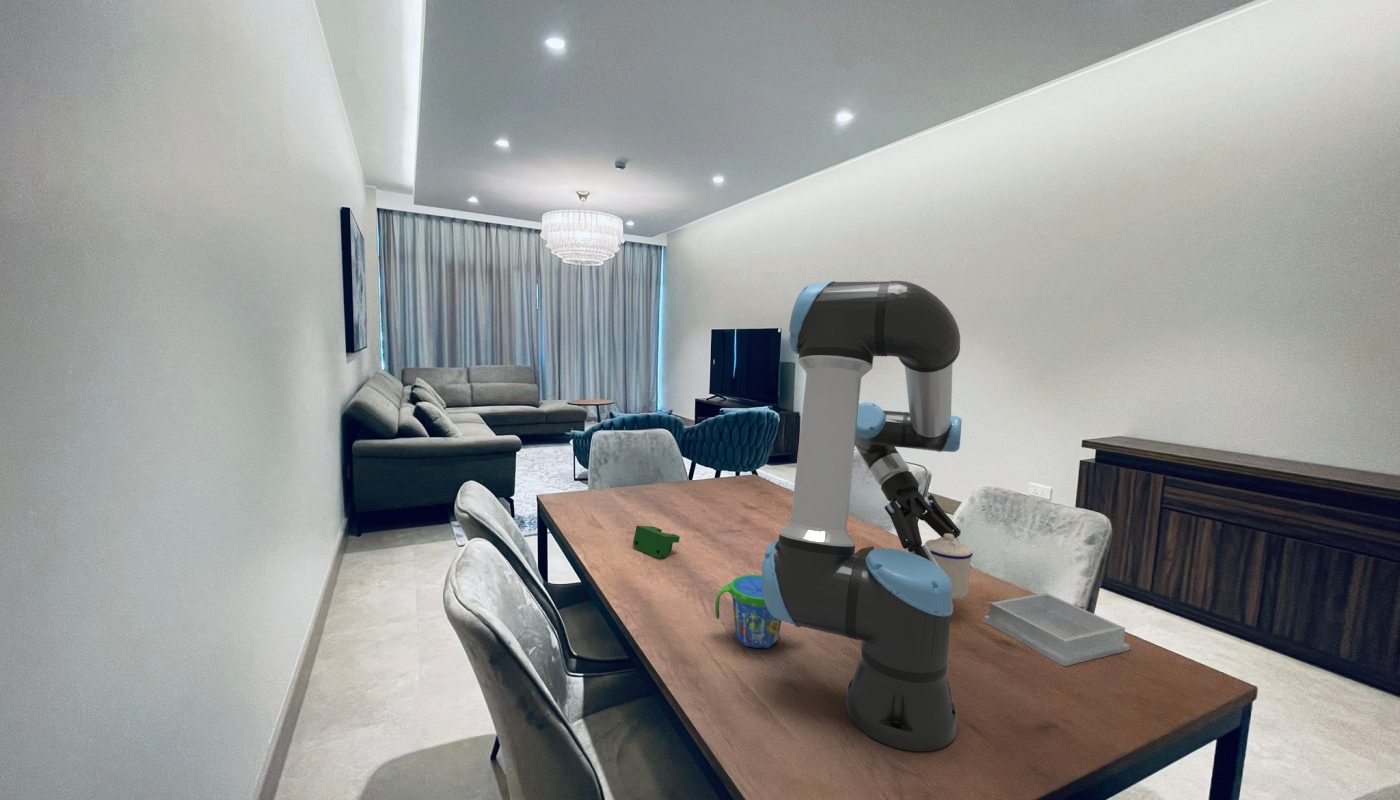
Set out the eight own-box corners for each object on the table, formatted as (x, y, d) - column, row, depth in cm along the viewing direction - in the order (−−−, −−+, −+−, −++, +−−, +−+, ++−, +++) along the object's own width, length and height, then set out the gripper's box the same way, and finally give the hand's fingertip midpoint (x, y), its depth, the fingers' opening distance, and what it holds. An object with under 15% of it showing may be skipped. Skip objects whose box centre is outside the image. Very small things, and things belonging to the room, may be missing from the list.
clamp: (669, 570, 145) (686, 541, 143) (652, 570, 141) (669, 541, 139) (645, 540, 153) (660, 513, 151) (628, 540, 149) (644, 511, 147)
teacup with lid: (976, 592, 116) (981, 536, 115) (958, 604, 109) (963, 545, 108) (919, 573, 124) (923, 521, 123) (899, 584, 118) (903, 529, 117)
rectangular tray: (1064, 666, 97) (1066, 644, 97) (982, 620, 113) (984, 601, 113) (1129, 650, 104) (1131, 629, 103) (1043, 609, 119) (1045, 590, 119)
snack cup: (801, 631, 107) (804, 579, 106) (798, 661, 96) (801, 603, 96) (720, 620, 110) (722, 569, 109) (708, 647, 100) (710, 592, 99)
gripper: (916, 483, 134) (973, 572, 122) (850, 492, 123) (906, 591, 111) (937, 465, 129) (999, 556, 117) (871, 473, 118) (931, 574, 106)
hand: (954, 573), depth 114 cm, fingers closed on teacup with lid, 9 cm apart
